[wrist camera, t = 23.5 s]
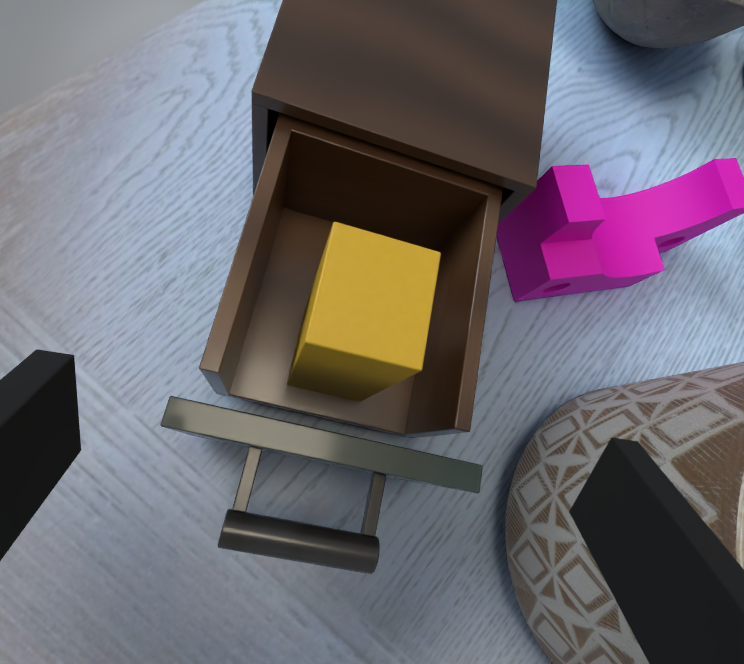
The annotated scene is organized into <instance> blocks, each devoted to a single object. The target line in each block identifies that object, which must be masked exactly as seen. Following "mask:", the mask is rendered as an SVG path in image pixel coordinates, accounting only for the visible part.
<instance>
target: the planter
mask: <svg viewBox="0 0 744 664" xmlns="http://www.w3.org/2000/svg"><path fill="white" fill-rule="evenodd" d="M611 437H613V438H619V439H626V440H632V441H638V442H639V443H640V445H641V446H642V447H643V448H644V450H645V451H646V452H647V453H648V454H649V456H650V457H651V458H652V459H653V460H654V462H655V463H656V464H657V465H658V466H659V468H660V469H661V470H662V471H663V472H664V474H665V475H666V476H667V477H668V478H669V480H670V481H671V482H672V483H673V485H674V486H675V487H676V488H677V489H678V491H679V492H680V493H681V494H682V495H683V497H684V498H685V499H686V500H687V501H688V503H689V504H690V505H691V506H692V507H693V509H694V510H695V511H696V512H697V513H698V515H699V516H700V517H701V518H702V520H703V521H704V522H705V523H706V524H707V526H708V527H709V528H710V529H711V530H712V532H713V533H714V534H715V535H716V536H717V538H718V539H719V540H720V541H721V542H722V544H723V545H724V546H725V547H726V548H727V550H728V551H729V552H730V553H731V555H732V556H733V557H734V558H735V559H736V561H737V562H738V563H739V564H740V565H741V567H742V568H743V569H744V362H741V363H735V364H730V365H725V366H720V367H714V368H709V369H704V370H699V371H693V372H688V373H683V374H678V375H672V376H667V377H662V378H657V379H652V380H646V381H641V382H636V383H631V384H625V385H620V386H615V387H610V388H604V389H599V390H595V391H592V392H588V393H586V394H583V395H581V396H579V397H577V398H575V399H573V400H571V401H569V402H568V403H566V404H564V405H563V406H561V407H560V408H559V409H557V410H556V411H555V412H554V413H553V414H551V415H550V416H549V417H548V418H547V419H546V420H545V421H544V422H543V424H542V425H541V426H540V427H539V428H538V429H537V431H536V432H535V433H534V435H533V436H532V438H531V439H530V441H529V442H528V444H527V446H526V447H525V449H524V451H523V453H522V455H521V457H520V460H519V462H518V464H517V467H516V470H515V473H514V476H513V479H512V483H511V487H510V491H509V496H508V502H507V510H506V526H505V534H506V551H507V559H508V566H509V571H510V576H511V580H512V584H513V588H514V591H515V594H516V598H517V600H518V603H519V606H520V608H521V611H522V613H523V615H524V618H525V620H526V622H527V624H528V626H529V628H530V630H531V632H532V634H533V635H534V637H535V639H536V640H537V642H538V644H539V645H540V647H541V648H542V650H543V651H544V653H545V654H546V655H547V657H548V658H549V659H550V661H551V662H552V663H553V664H649V662H648V661H647V659H646V657H645V655H644V653H643V651H642V649H641V647H640V645H639V644H638V642H637V640H636V638H635V636H634V634H633V632H632V630H631V628H630V626H629V625H628V623H627V621H626V619H625V617H624V615H623V613H622V611H621V609H620V608H619V606H618V604H617V602H616V600H615V598H614V596H613V594H612V592H611V590H610V589H609V587H608V585H607V583H606V581H605V579H604V577H603V575H602V573H601V572H600V570H599V568H598V566H597V564H596V562H595V560H594V558H593V556H592V555H591V553H590V551H589V549H588V547H587V545H586V543H585V541H584V539H583V537H582V536H581V534H580V532H579V530H578V528H577V526H576V524H575V522H574V520H573V519H572V517H571V515H570V513H569V511H570V509H571V507H572V505H573V504H574V502H575V500H576V498H577V497H578V495H579V493H580V491H581V490H582V488H583V486H584V484H585V483H586V481H587V479H588V477H589V476H590V474H591V472H592V470H593V469H594V467H595V465H596V463H597V462H598V460H599V458H600V456H601V455H602V453H603V451H604V449H605V448H606V446H607V444H608V442H609V441H610V439H611Z"/></svg>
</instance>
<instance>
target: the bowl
mask: <svg viewBox="0 0 744 664" xmlns="http://www.w3.org/2000/svg"><path fill="white" fill-rule="evenodd" d="M593 2H594V4H595V7H596V9H597V11H598V13H599V15H600V17H601V18H602V19H603V21H604V22H605V23H606V24H607V25H608V27H609V28H610V29H611V30H612V31H613V32H615V33H616V34H617V35H619V36H620V37H622V38H623V39H624V40H626V41H629V42H631V43H633V44H635V45H638V46H642V47H650V48H676V47H681V46H687V45H691V44H695V43H698V42H702V41H706V40H709V39H712V38H715V37H718V36H720V35H722V34H725V33H727V32H730V31H732V30H735V29H737V28H739V27H741V26H744V0H593Z"/></svg>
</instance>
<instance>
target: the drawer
mask: <svg viewBox="0 0 744 664" xmlns="http://www.w3.org/2000/svg"><path fill="white" fill-rule="evenodd" d="M502 191H503V187H500V186H497V185H494V184H491V183H488V182H485V181H482V180H479V179H476V178H473V177H470V176H467V175H464V174H461V173H458V172H455V171H452V170H450V169H447V168H444V167H441V166H438V165H435V164H432V163H429V162H426V161H423V160H420V159H417V158H414V157H411V156H408V155H405V154H402V153H399V152H396V151H393V150H390V149H387V148H384V147H381V146H378V145H375V144H372V143H369V142H366V141H363V140H360V139H357V138H354V137H351V136H348V135H345V134H342V133H339V132H336V131H333V130H330V129H327V128H324V127H321V126H318V125H315V124H312V123H309V122H306V121H303V120H300V119H297V118H295V117H292V116H289V115H286V114H283V113H280V114H279V117H278V120H277V123H276V126H275V129H274V133H273V136H272V139H271V142H270V145H269V148H268V152H267V155H266V158H265V161H264V164H263V167H262V171H261V174H260V177H259V180H258V183H257V186H256V190H255V193H254V196H253V199H252V202H251V205H250V209H249V212H248V215H247V218H246V221H245V224H244V228H243V231H242V234H241V237H240V240H239V243H238V247H237V250H236V253H235V256H234V259H233V262H232V266H231V269H230V272H229V275H228V278H227V281H226V285H225V288H224V291H223V294H222V297H221V300H220V304H219V307H218V310H217V313H216V316H215V319H214V323H213V326H212V329H211V332H210V335H209V338H208V342H207V345H206V348H205V351H204V354H203V357H202V360H201V364H200V367H199V369H200V370H201V372H202V373H203V375H204V376H205V378H206V379H207V381H208V382H209V384H210V385H211V387H212V388H213V390H214V391H215V392H216V393H217V394H220V395H225V396H229V397H234V398H238V399H242V400H247V401H251V402H256V403H260V404H264V405H269V406H273V407H278V408H282V409H286V410H291V411H295V412H300V413H304V414H308V415H313V416H317V417H322V418H326V419H330V420H335V421H339V422H344V423H348V424H352V425H357V426H361V427H366V428H370V429H374V430H379V431H383V432H388V433H392V434H396V435H401V436H405V437H410V438H416V437H426V436H435V435H445V434H455V433H464V432H470V427H471V420H472V413H473V405H474V398H475V390H476V383H477V375H478V368H479V361H480V353H481V346H482V338H483V331H484V323H485V316H486V309H487V301H488V294H489V286H490V279H491V271H492V264H493V257H494V249H495V242H496V234H497V227H498V219H499V212H500V205H501V198H502ZM334 222H338V223H342V224H345V225H349V226H352V227H355V228H359V229H362V230H366V231H369V232H372V233H376V234H379V235H383V236H386V237H390V238H393V239H396V240H400V241H403V242H407V243H410V244H414V245H417V246H420V247H424V248H427V249H431V250H434V251H437V252H440V253H441V257H440V263H439V269H438V275H437V281H436V288H435V294H434V300H433V306H432V312H431V318H430V324H429V331H428V337H427V343H426V349H425V355H424V361H423V368H422V370H421V371H420V372H418V373H416V374H414V375H412V376H410V377H408V378H406V379H404V380H402V381H400V382H398V383H396V384H394V385H392V386H390V387H388V388H386V389H384V390H382V391H380V392H379V393H377V394H375V395H373V396H371V397H369V398H367V399H365V400H363V401H360V402H359V401H355V400H351V399H346V398H342V397H337V396H333V395H328V394H324V393H320V392H315V391H311V390H306V389H302V388H298V387H293V386H289V385H287V380H288V376H289V372H290V368H291V364H292V360H293V356H294V352H295V348H296V343H297V339H298V335H299V331H300V327H301V323H302V319H303V315H304V311H305V307H306V304H307V301H308V298H309V295H310V292H311V289H312V286H313V283H314V280H315V276H316V273H317V270H318V267H319V264H320V261H321V258H322V255H323V252H324V249H325V246H326V243H327V240H328V237H329V234H330V231H331V228H332V225H333V223H334ZM161 426H162V427H165V428H169V429H172V430H175V431H179V432H182V433H186V434H189V435H193V436H198V437H203V438H207V439H212V440H217V441H222V442H226V443H231V444H236V445H241V446H245V447H249V450H248V453H247V457H246V461H245V465H244V468H243V472H242V476H241V479H240V483H239V487H238V491H237V494H236V498H235V502H234V505H233V509H228V510H227V513H226V517H225V520H224V523H223V527H222V531H221V534H220V538H219V542H218V548H223V549H228V550H234V551H240V552H246V553H252V554H257V555H263V556H269V557H275V558H281V559H286V560H292V561H298V562H304V563H310V564H315V565H321V566H327V567H333V568H339V569H344V570H350V571H356V572H362V573H368V574H372V573H374V571H375V569H376V566H377V563H378V558H379V539H378V537H376V536H375V535H376V529H377V524H378V518H379V513H380V507H381V502H382V496H383V491H384V485H385V480H386V476H388V477H393V478H397V479H402V480H407V481H412V482H417V483H422V484H428V485H434V486H439V487H445V488H451V489H456V490H462V491H468V492H473V493H479V491H480V483H481V475H482V467H483V466H482V465H479V464H475V463H470V462H466V461H461V460H457V459H452V458H448V457H443V456H439V455H434V454H430V453H425V452H421V451H416V450H412V449H407V448H403V447H398V446H394V445H389V444H385V443H380V442H376V441H371V440H367V439H362V438H358V437H353V436H349V435H344V434H340V433H335V432H331V431H326V430H322V429H317V428H313V427H308V426H304V425H299V424H295V423H291V422H286V421H282V420H277V419H273V418H268V417H264V416H259V415H255V414H250V413H246V412H241V411H237V410H232V409H228V408H223V407H219V406H214V405H210V404H205V403H201V402H196V401H192V400H187V399H183V398H178V397H174V396H170V397H169V400H168V403H167V406H166V410H165V413H164V416H163V419H162V422H161ZM262 450H264V451H269V452H274V453H279V454H283V455H288V456H293V457H298V458H302V459H307V460H312V461H317V462H321V463H326V464H331V465H336V466H340V467H345V468H350V469H355V470H359V471H364V472H369V473H372V475H371V480H370V486H369V491H368V496H367V501H366V507H365V512H364V517H363V522H362V528H361V533H362V534H361V533H356V532H350V531H345V530H340V529H334V528H329V527H324V526H318V525H313V524H307V523H302V522H297V521H291V520H286V519H281V518H275V517H270V516H265V515H259V514H254V513H249V512H246V510H247V506H248V502H249V499H250V495H251V491H252V487H253V483H254V479H255V476H256V472H257V468H258V464H259V460H260V456H261V453H262Z"/></svg>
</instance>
